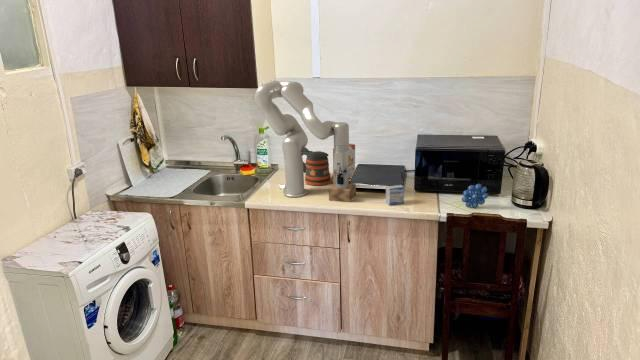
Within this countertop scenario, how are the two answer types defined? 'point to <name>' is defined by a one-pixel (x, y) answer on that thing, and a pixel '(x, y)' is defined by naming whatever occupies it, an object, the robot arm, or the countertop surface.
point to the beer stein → (316, 168)
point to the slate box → (345, 178)
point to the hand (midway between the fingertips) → (342, 181)
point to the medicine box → (394, 195)
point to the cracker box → (350, 163)
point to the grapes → (475, 195)
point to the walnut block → (342, 193)
